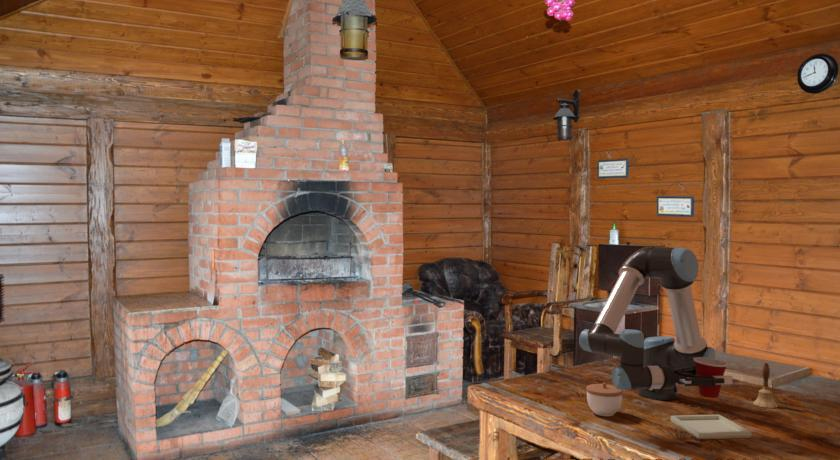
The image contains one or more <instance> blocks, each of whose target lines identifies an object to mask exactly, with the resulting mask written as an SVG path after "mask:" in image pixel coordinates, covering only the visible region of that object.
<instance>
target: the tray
mask: <svg viewBox="0 0 840 460" xmlns="http://www.w3.org/2000/svg"><path fill="white" fill-rule="evenodd" d="M670 422H671V423H673V424H674V425H675V426H678V427H680V429H682V430H684V431H685V432H687V433H689V434H690V435H691V436H693V437H695V438H697V439H698V440H713V439H714V440H716V439H719V440H720V439H752V431H750V430H748V429H747V428H745V427H743V426H741V425H739V424H738V423H736V422H733V421H732V420H731V419H728V418H726V417H725V416H723V415H721V414H689V415H688V414H687V415H686V414H685V415H684V414H683V415H670Z"/></svg>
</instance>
